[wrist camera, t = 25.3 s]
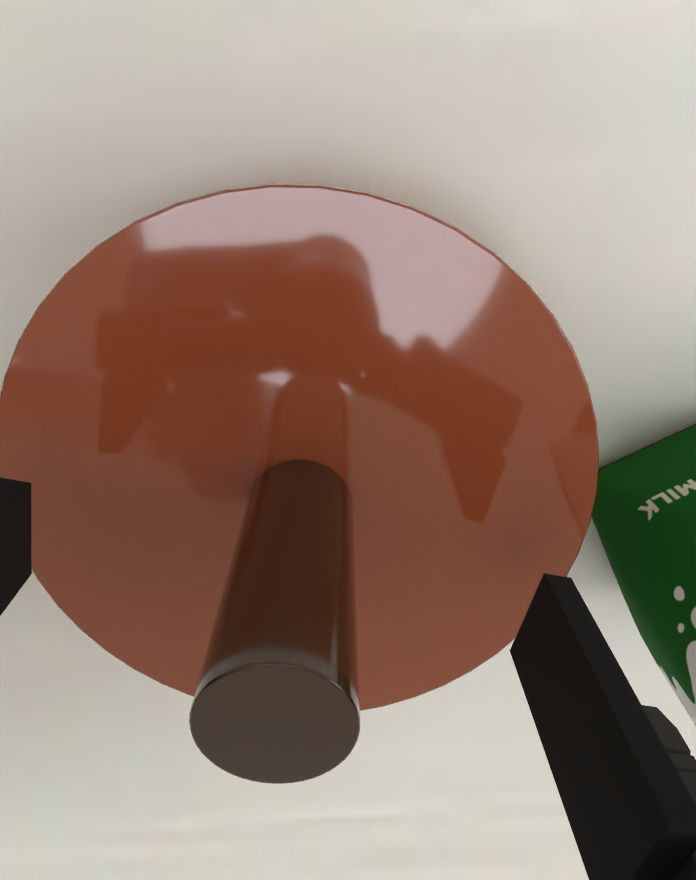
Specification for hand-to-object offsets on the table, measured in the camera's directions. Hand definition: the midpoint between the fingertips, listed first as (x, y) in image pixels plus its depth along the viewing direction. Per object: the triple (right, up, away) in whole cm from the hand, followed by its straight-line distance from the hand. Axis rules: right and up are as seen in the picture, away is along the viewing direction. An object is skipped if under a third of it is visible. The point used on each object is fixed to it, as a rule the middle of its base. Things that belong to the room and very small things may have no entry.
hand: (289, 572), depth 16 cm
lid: (0, +2, +4) cm, 4 cm away
